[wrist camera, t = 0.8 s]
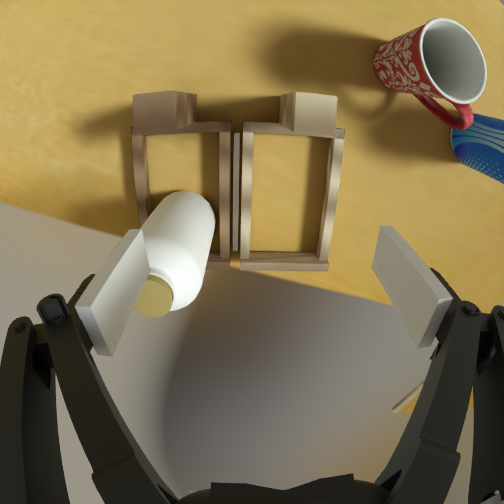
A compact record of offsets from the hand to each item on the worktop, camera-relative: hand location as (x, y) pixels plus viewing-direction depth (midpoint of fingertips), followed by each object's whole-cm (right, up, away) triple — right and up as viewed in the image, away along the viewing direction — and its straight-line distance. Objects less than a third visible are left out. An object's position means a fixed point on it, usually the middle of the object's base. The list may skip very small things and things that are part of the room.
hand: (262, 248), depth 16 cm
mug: (+19, +23, +14) cm, 33 cm away
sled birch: (+4, +9, +21) cm, 23 cm away
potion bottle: (-9, +5, +24) cm, 26 cm away
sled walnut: (-9, +9, +21) cm, 24 cm away
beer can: (+32, +17, +18) cm, 40 cm away
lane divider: (-3, +7, +22) cm, 23 cm away
